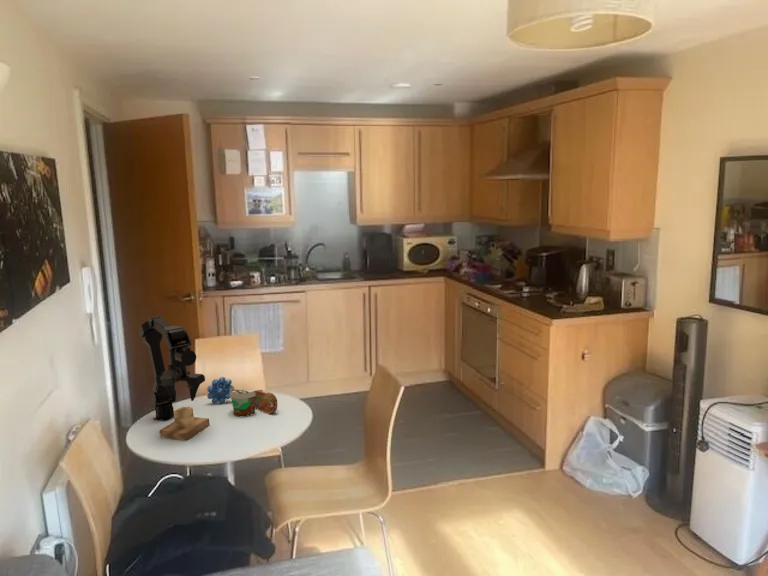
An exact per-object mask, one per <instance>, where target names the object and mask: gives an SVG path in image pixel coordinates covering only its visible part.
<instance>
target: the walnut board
mask: <svg viewBox="0 0 768 576" xmlns="http://www.w3.org/2000/svg"><path fill="white" fill-rule="evenodd" d="M208 426H209V427H211V425H210V418H207V417H197V416H194V423H192V424H191V425H189V426H188V427H178V426H175V420H174V421H172V422H171V423H170V424H168V425H166V426H165V427H162V428H161V429H159V433H160V438H161V437H164V438H163V439H169V438H171V439H170V440H179V441H184V442H186V441H190V439H192V438H194V437H195V436H196V435H198V434H200V433H202V432H203V431H204V430H205V428H206V429H207V428H209V427H208ZM199 432H200V433H199Z"/></svg>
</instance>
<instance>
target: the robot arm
mask: <svg viewBox="0 0 768 576" xmlns="http://www.w3.org/2000/svg"><path fill="white" fill-rule="evenodd" d="M138 334H139V337H140V338H141V342H142V343H143V344H144V345H145V346H147V350H148V354H149V359H150V364H151V368H152V373H153V378H154V384H153V385H152V386H153V387H151V388H152V394H151V396H150V399H149V400H150V405H151V406H153V407H154V408H155V417H153V420H155V421H156V420H157V421H165V422H167V421H169V420H171V419H172V418H174V411H175V409H174V406H173V403H175V402H176V400H177V390H176V388H175V385H176V383H179V381H181V382H186V383H187V385H186V387H187V388H188V390H189V395H190V400H191V402H192V401H194V400H195V399H196V395H197V393H198V390H199V388H200V385H202V384H203V383H204V382H205V381H206V376H205V375H204V374H203V373H194V374H192V375H190V374H191V372H190V371H188V367H189V366H192V365H194V364H195V363H196V361H197V354H196V353H195V352H194V351H193V350H191V346H192V343H191V342H192V340H191V338H190V335H189V334H188V332H187V330H186V329H185V328H184V327H183V326H179V325H173V324H171V323H170V322H168V321H167V320H166V319H164V317H163V316H161V315H157V316H151V317H148V319H147V321H145V322H144V323H142V324H141V325H140V327H139V329H138ZM162 339H163V340H164V342H165V344H166V345H167V348H168V353H169V354H168V355H169V362H170V364H168V366H167V370H166V367H165V363H164V358H163V353H162V347H161V342H162Z"/></svg>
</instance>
